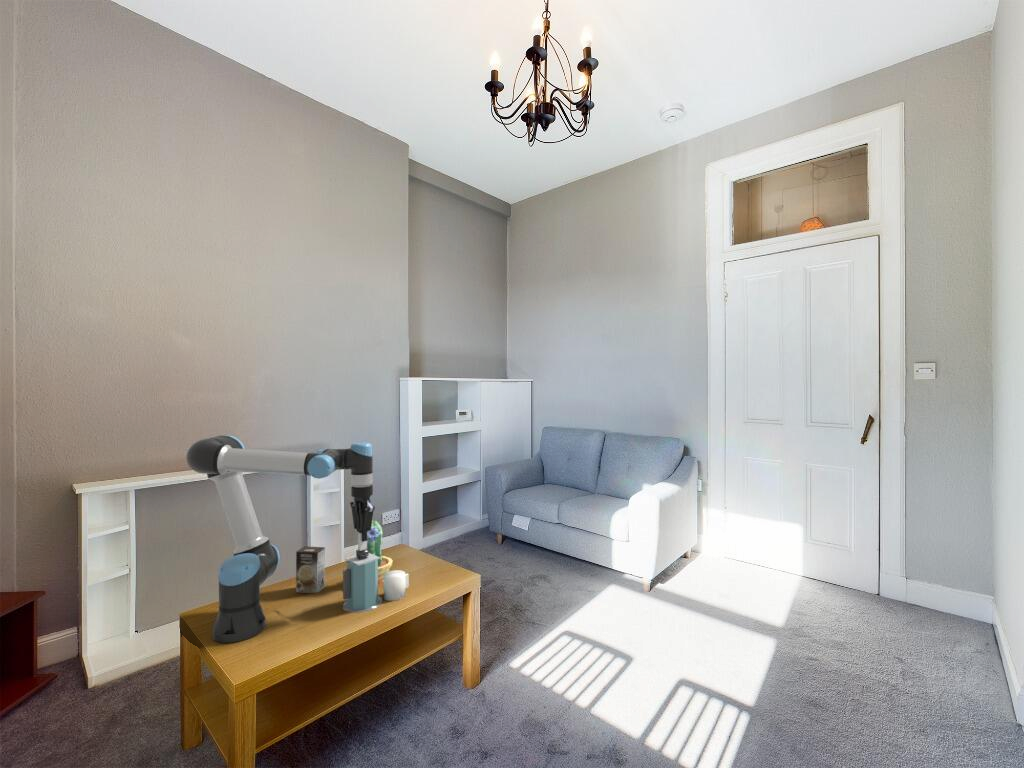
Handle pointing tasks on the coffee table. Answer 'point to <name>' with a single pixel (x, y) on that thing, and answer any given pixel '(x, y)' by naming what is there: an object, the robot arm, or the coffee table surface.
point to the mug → (395, 585)
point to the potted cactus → (378, 549)
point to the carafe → (361, 582)
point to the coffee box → (310, 569)
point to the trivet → (363, 609)
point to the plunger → (362, 553)
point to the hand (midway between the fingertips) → (362, 549)
